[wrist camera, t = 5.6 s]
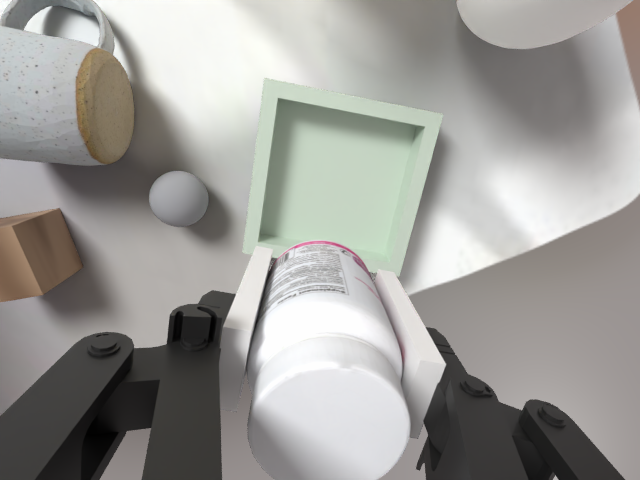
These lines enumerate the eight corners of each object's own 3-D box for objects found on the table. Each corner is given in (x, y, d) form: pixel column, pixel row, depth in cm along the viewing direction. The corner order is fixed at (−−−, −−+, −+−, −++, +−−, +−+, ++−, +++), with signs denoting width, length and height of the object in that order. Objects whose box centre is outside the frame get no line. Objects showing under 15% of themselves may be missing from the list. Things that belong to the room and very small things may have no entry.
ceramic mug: (143, 163, 27) (86, 177, 20) (27, 151, 27) (-75, 161, 19) (138, 2, 24) (69, -52, 17) (7, -17, 24) (-124, -80, 16)
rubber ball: (159, 214, 29) (138, 228, 25) (162, 163, 27) (140, 170, 24) (211, 222, 29) (198, 237, 25) (216, 172, 28) (203, 181, 24)
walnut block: (23, 277, 30) (-29, 307, 25) (-4, 218, 28) (-65, 239, 24) (84, 266, 30) (43, 294, 25) (60, 207, 28) (11, 225, 24)
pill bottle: (380, 317, 17) (442, 485, 9) (284, 341, 18) (264, 525, 10) (357, 223, 16) (407, 329, 8) (252, 252, 16) (198, 381, 8)
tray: (247, 240, 30) (242, 252, 27) (268, 82, 26) (264, 77, 23) (390, 262, 31) (399, 276, 28) (428, 114, 27) (443, 114, 24)
